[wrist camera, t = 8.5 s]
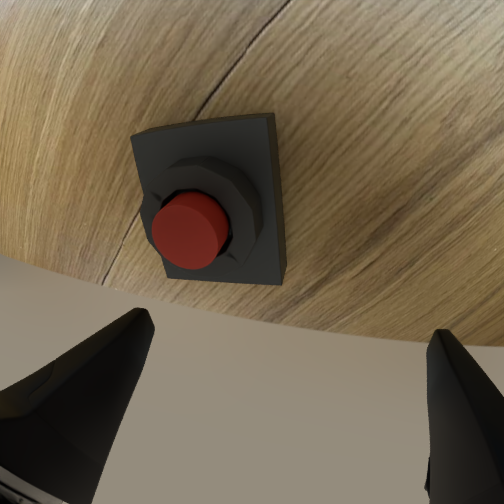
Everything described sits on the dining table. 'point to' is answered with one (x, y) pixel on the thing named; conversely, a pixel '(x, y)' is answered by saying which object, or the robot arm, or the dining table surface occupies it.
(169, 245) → the button
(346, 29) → the dining table surface
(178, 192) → the button block
